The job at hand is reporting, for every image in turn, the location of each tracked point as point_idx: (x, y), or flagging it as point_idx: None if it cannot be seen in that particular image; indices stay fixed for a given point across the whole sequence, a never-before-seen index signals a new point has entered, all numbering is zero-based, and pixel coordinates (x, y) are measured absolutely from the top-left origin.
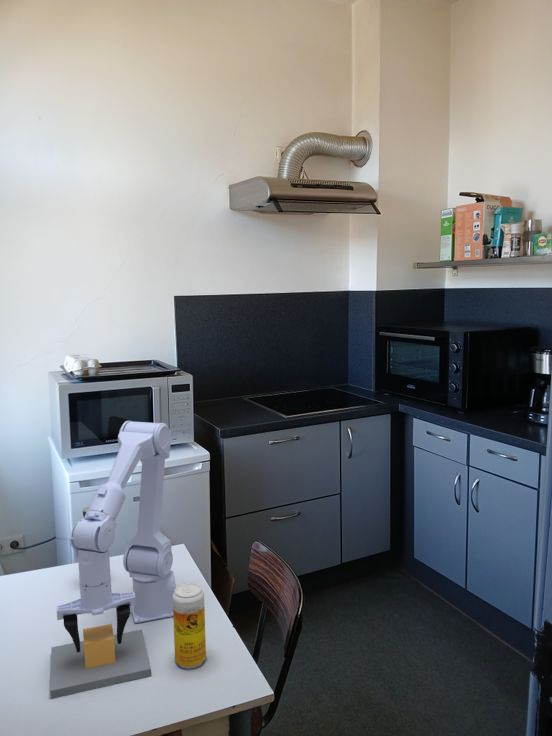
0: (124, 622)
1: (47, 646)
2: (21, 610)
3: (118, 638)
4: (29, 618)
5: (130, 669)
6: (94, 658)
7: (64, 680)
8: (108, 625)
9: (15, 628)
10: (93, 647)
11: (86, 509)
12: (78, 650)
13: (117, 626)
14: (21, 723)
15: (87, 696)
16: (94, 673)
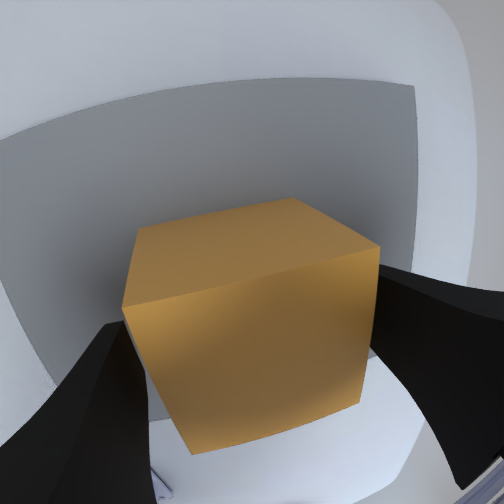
0: (19, 444)
1: None
2: (400, 442)
3: (108, 340)
4: (395, 431)
5: (49, 156)
6: (263, 219)
7: (376, 132)
8: (210, 443)
9: None
10: (296, 247)
11: None
12: None
13: (131, 433)
14: (437, 19)
15: (261, 45)
16: (245, 146)
